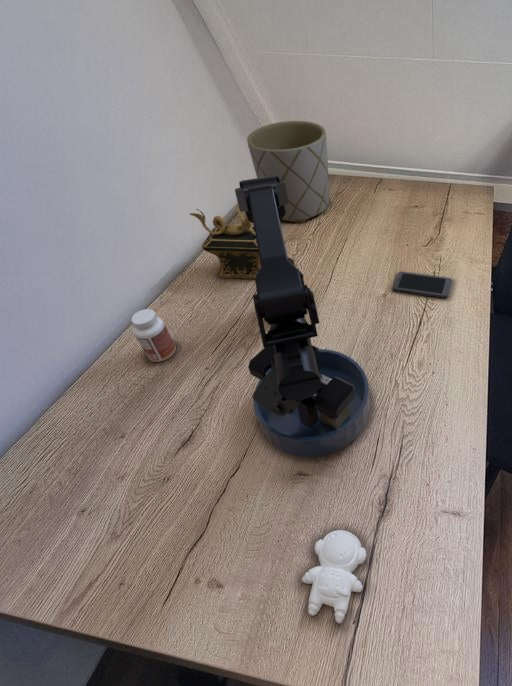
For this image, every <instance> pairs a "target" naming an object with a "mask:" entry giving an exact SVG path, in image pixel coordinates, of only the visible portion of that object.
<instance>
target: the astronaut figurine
mask: <svg viewBox="0 0 512 686" xmlns="http://www.w3.org/2000/svg"><path fill="white" fill-rule="evenodd" d="M314 553H315V555H317V558H318V561H319V565H317V566H314V567H312V568H309V569H308V571H306V572H305V573H304V575H303V577H302V578H301V581H302V582H303V584H307V585H312V586H311V589H310V594H309V598H308V606H307V607H308V610H307V611H308V614H309V615H310V616H316V615H317V614H318V612H319V611H320V610H321V608H322V607H323V605H326V606H328V607H333V612H334V618H335V622H336V623H337V624H343V622H344V621H345V617H346V616H347V613H348V609H349V604H350V601H351V596H352V592H354V593H361V592H362V591H363V589H364V587H363V585H362V582H361V580H359V579H358V577H357V576H356V575H354V574H353V572H354V571H355V570H356V569H357V568H358V566H359V565H362V564H364V562H365V561H366V558H367V550H366V549H365V547H362V543H361V541H360V539H359V538H358V537H357V536H356V535H355V534H354V533H351V532H350V531H347V530H343V529H337V530H333V531H331V532H329V533H327V534H326V535H325V536H324V537H323V539H322V538H319V539H318V540H317V541H316V542H315V545H314Z"/></svg>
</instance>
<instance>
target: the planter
mask: <svg viewBox="0 0 512 686" xmlns="http://www.w3.org/2000/svg"><path fill="white" fill-rule="evenodd" d="M246 142H247V146H248V150H249V154H250V157H251V161H252V164H253V169H254V171H255V175H256V178H262V177H269V176H275V175H276V176H279V180H280V181H285V185H286V190H287V195H288V200H289V203H288V204H286V205H285V209H286V215H285V216H284V217H283V219H282V220H281V221H286V222H291V223H300V224H301V223H305V222H307V220H308V219H310V218H314V217H316V216H318V215H320V214H321V213H323V212H324V211H326V209H328V207H329V205H330V181H329V179H330V178H329V161H328V145H327V142H328V141H327V133H326V129H325V128H324V127H323V125H320V124H318V123H315V122H311V121H305V120H288V121H287V120H286V121H278V122H274V123H270V124H266V125H263V126H260V127H258V128H257V129H254V130H253V131H252V132H251V133H249V135H248V136H247V137H246Z"/></svg>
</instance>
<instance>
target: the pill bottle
mask: <svg viewBox="0 0 512 686" xmlns="http://www.w3.org/2000/svg"><path fill="white" fill-rule="evenodd" d="M131 323H132V325H133V329H132V330H133V334H134V336H135V338H136V340H137V341H138V343H139V345H140V347H141V349H142V350H143V352H144V354H145V356H146V357H147V359H148V360H149V361H151V362H155V363H160V362H164V361H166V360H168V359H170V358H171V357H172V356H173V355H174V353H176V344H175V342H174V340H173V338H172V336H171V334H170V332H169V331H168V328H167V325H166V323H165V322H164V320H163V319H162V318H160V317H158V316H157V314H156V312H155V311H154V310H153V309H150V308H144V309H141V310H138V311H136V312H135V313H134V314H133V315H132V316H131Z"/></svg>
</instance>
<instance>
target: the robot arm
mask: <svg viewBox="0 0 512 686" xmlns="http://www.w3.org/2000/svg"><path fill="white" fill-rule="evenodd" d="M238 183H239V184H238V185H239V187H235V189H234V193H235V197H236V202H237V206H239V210H240V212H244V213H245V216H247V219H248V221H250V222H251V224H253V226H254V229H255V235H256V240H257V246H258V251H259V256H260V262H261V267H260V269H259V271H258V273H257V275H256V277H255V279H254V283H255V289H256V293H255V294H252V300H253V306H254V310H255V314H256V320H257V324H258V328H259V332H260V333H259V334H260V338H261V342H262V346H263V348H262V349H261V350H260V351H259V352H258V353H257V354H256V355H254V356H253V357H252V358H251V359H250V360H249V362H248V370H249V373H250V375H251V376H253V377H255V378H256V379H258V380H262V382H261V383H260V384H259V386H258V387H257V386H256V387H257V389H256V388H255V389H256V390H254V392H253V393H252V400H253V401H256V402H257V403H258V404H260V405H261V406H262V407H264V408H266V409H267V410H269V411H271V412H272V413H274V414H276V415H278V416H284V415H285V414H286V413H288V414H290V415H291V414H293V413H294V411H295V410H296V408H297V407H298V405H299V404H300V403H302V404H304V405H306V406H307V407H308V409H309V412H310V414H312V415H313V414H314V413H315V412H316V410H318V411H319V412H320V413H322V414H324V415H326V416H327V417H329V418H331V419H336V418H338V417H339V416H340V414H341V413H342V412H343V411H344V410H345V408H346V407H347V406H348V405H349V404H350V402H351V401H352V400H353V399H354V398H355V396H356V394H355V387H354V385H353V384H351V383H349V382H347V381H345V380H343V379H341V378H339V377H333V378H332V379H330V378H328V377H326V376H324V375H322V374H319V371H320V370H321V369H322V368H321V365H320V364H318V363H316V359H315V355H316V354H317V353H318V352H319V351H318V349H319V347H317V346H315V345H313V344H312V340H311V338H316V337H319V335H318V331H317V325H318V324H320V320H319V314H318V310H317V305H316V301H315V296H314V291H313V290H311V289H310V287H309V286H308V284H307V283H306V284H305V280H304V279H305V278H304V274H303V272H301V270H300V268H299V267H296V264H295V260H294V259H293V258H291V257H289V256H288V252H287V248H286V243H285V238H284V235H283V234H284V233H283V229H282V225H281V221H283V220H282V219H283V217H284V216H285V215H286V209H285V205H286V204H288V203H289V200H288V195H287V190H286V185H285V181H280V180H279V176H276V175H275V176H269V177H262V178H257V177H255V178H251V179H244V180H240V181H239V182H238ZM307 314H308V316H309V320H310V324H309V322H308V321H307V319H306V315H307ZM265 323H266V324H267V325H268V326H269V330H267V332H266V328H265ZM270 368H271V372H270V373H269V374H268V375H266V374H265V373H266V372H267V371H268V370H269V369H270Z"/></svg>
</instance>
